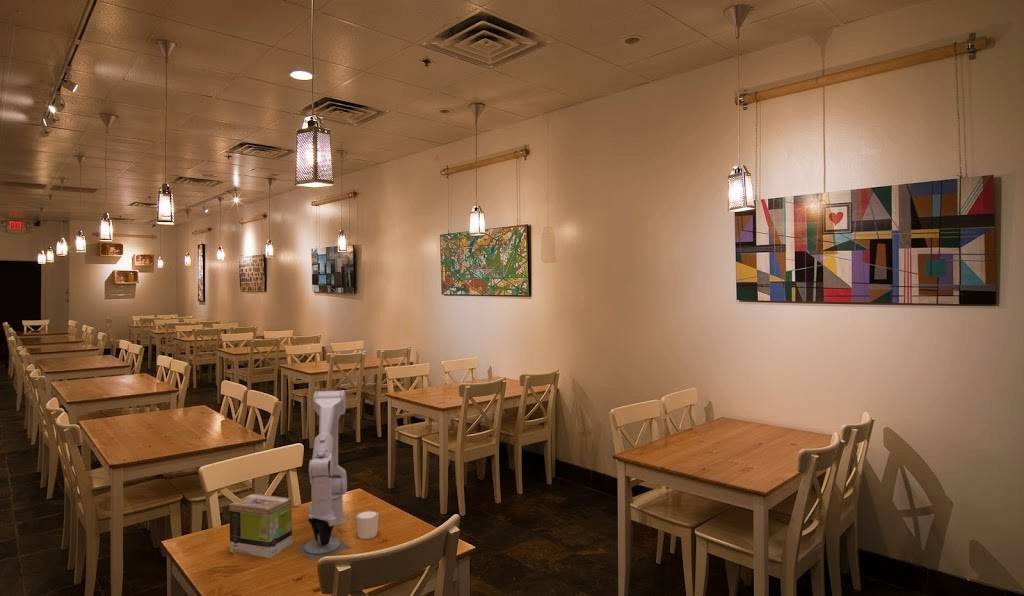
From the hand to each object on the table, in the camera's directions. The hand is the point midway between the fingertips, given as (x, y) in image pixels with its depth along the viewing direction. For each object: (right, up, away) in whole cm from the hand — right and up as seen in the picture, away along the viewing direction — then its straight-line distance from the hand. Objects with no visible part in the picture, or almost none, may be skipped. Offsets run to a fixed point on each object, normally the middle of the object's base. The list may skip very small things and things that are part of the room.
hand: (322, 542), depth 172 cm
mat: (0, -2, 0) cm, 2 cm away
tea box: (-18, -2, 0) cm, 19 cm away
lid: (0, -1, 0) cm, 1 cm away
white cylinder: (+11, -2, +8) cm, 14 cm away
